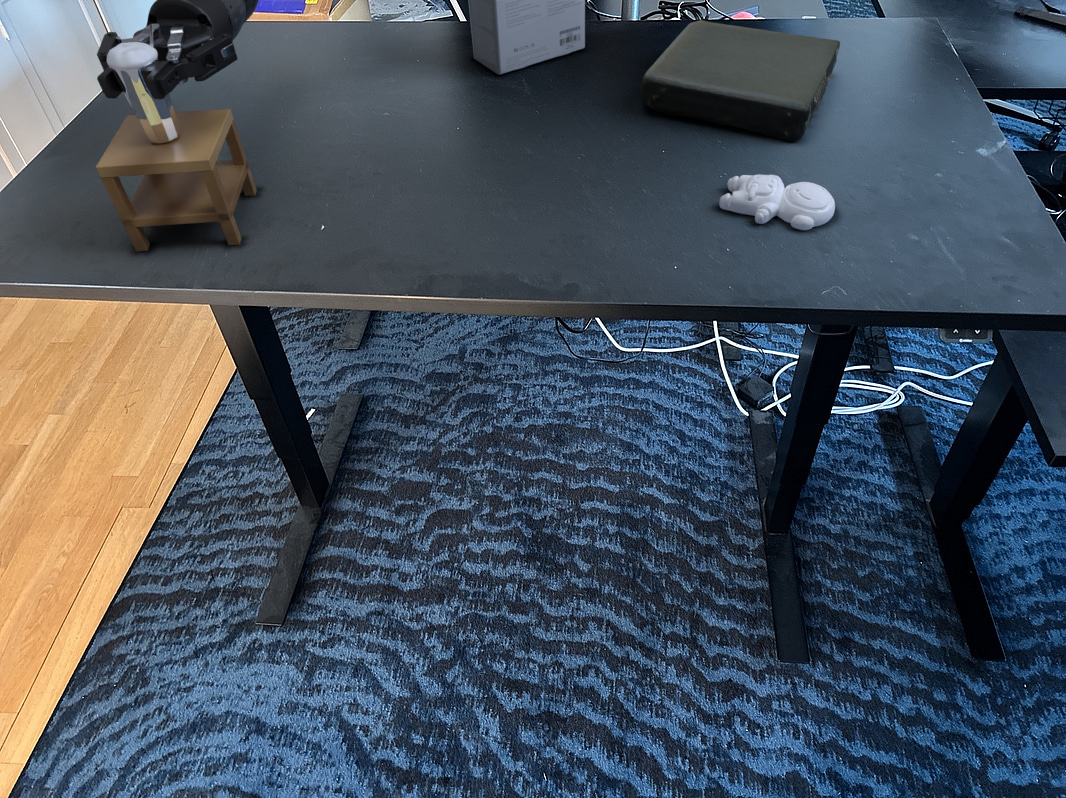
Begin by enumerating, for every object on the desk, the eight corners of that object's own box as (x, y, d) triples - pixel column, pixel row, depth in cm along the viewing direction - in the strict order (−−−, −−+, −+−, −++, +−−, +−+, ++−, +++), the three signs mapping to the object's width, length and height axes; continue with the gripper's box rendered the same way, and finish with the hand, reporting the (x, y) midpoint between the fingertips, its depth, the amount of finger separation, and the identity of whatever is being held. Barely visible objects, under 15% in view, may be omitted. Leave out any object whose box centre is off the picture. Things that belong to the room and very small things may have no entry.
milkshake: (202, 128, 80) (166, 29, 72) (159, 151, 77) (117, 50, 69) (175, 117, 81) (136, 19, 74) (131, 139, 78) (87, 39, 71)
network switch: (822, 147, 93) (832, 108, 90) (632, 123, 99) (635, 85, 95) (834, 67, 108) (843, 30, 105) (669, 50, 114) (672, 14, 110)
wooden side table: (136, 251, 82) (94, 167, 75) (162, 196, 90) (127, 114, 83) (239, 244, 83) (208, 159, 76) (257, 190, 90) (230, 108, 83)
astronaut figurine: (734, 176, 89) (738, 152, 87) (839, 198, 86) (847, 174, 83) (711, 214, 84) (715, 190, 82) (823, 240, 80) (830, 215, 78)
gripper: (124, -20, 82) (38, 48, 71) (252, -19, 81) (187, 50, 69) (151, 51, 88) (76, 125, 76) (272, 53, 86) (214, 128, 75)
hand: (130, 89), depth 73 cm, fingers closed on milkshake, 4 cm apart
